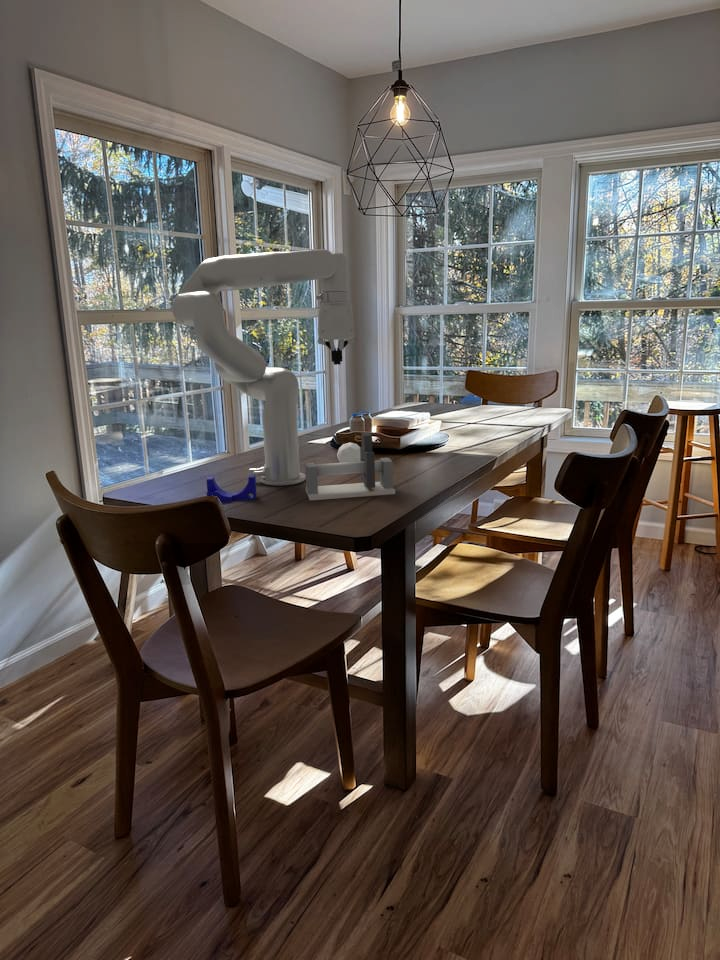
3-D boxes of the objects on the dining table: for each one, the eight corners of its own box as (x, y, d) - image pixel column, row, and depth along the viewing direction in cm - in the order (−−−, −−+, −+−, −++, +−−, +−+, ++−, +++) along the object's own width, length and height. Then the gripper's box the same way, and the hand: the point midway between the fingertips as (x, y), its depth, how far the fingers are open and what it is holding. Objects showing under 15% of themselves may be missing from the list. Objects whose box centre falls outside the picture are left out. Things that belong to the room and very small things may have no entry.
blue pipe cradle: (207, 504, 169) (205, 480, 167) (210, 499, 173) (208, 476, 172) (255, 501, 170) (253, 478, 168) (256, 497, 174) (255, 474, 172)
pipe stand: (309, 500, 168) (308, 469, 166) (305, 490, 178) (304, 460, 176) (395, 493, 172) (394, 463, 170) (386, 484, 181) (386, 455, 179)
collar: (367, 487, 170) (366, 437, 167) (361, 479, 179) (359, 431, 176) (375, 487, 171) (373, 437, 168) (368, 479, 179) (367, 431, 176)
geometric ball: (354, 474, 206) (367, 452, 206) (353, 471, 198) (367, 448, 198) (333, 462, 206) (346, 440, 207) (331, 458, 198) (345, 435, 199)
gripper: (309, 299, 185) (312, 366, 189) (362, 297, 188) (364, 364, 192) (306, 299, 192) (310, 364, 197) (358, 298, 195) (360, 362, 199)
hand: (337, 364), depth 194 cm, fingers closed
